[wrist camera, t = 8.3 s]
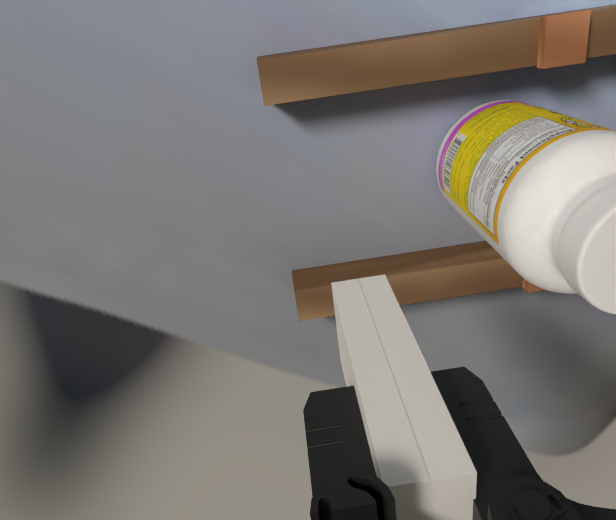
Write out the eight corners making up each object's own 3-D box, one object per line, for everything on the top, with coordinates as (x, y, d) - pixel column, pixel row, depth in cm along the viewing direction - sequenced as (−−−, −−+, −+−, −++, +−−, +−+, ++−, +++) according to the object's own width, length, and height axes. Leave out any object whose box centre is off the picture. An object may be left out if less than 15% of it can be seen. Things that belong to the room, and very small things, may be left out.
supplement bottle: (566, 171, 29) (767, 276, 17) (464, 234, 30) (589, 371, 19) (520, 69, 26) (723, 113, 15) (410, 143, 27) (517, 237, 16)
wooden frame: (256, 54, 25) (256, 59, 22) (681, -8, 25) (740, -12, 22) (296, 300, 31) (300, 332, 28) (637, 247, 31) (678, 273, 28)
